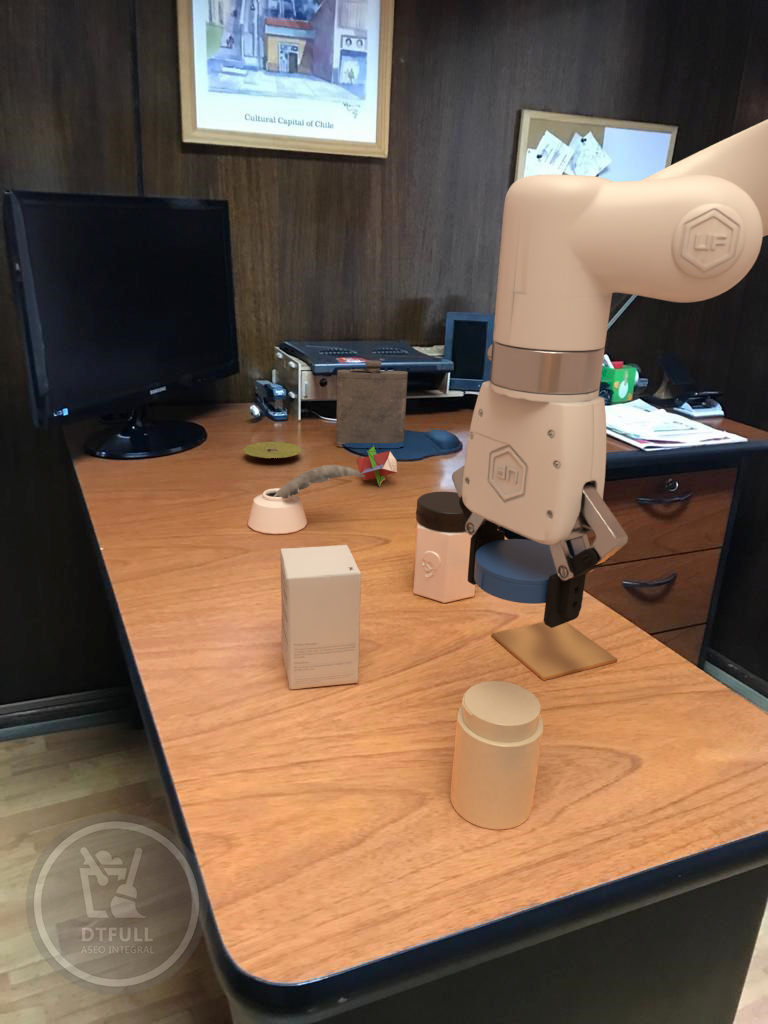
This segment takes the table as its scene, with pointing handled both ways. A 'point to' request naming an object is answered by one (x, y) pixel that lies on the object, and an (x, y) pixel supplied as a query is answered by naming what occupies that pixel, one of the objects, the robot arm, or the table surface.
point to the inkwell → (290, 501)
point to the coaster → (553, 649)
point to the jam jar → (496, 755)
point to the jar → (441, 549)
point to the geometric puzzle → (377, 465)
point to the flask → (370, 405)
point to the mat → (272, 450)
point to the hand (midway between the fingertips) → (520, 598)
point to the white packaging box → (320, 616)
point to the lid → (514, 570)
